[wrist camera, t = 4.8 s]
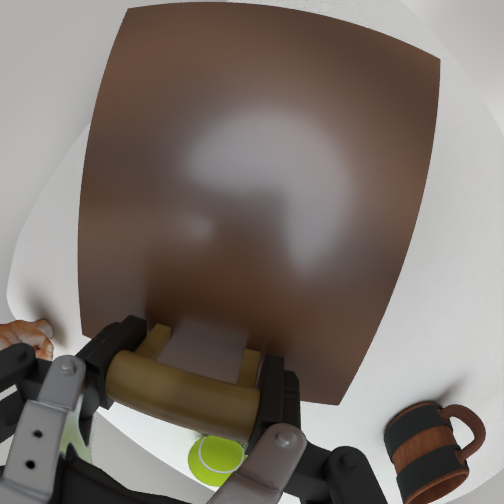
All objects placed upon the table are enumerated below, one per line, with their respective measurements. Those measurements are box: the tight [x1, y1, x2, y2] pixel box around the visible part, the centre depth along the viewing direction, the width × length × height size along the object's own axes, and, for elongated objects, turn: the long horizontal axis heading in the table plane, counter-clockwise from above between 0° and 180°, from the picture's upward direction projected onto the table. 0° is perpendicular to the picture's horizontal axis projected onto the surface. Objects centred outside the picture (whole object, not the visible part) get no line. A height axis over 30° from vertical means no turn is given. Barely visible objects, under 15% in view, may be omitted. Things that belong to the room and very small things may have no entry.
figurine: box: [0, 319, 54, 361], centre depth 21 cm, size 6×8×15 cm
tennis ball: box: [188, 435, 247, 487], centre depth 26 cm, size 7×7×7 cm
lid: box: [78, 2, 440, 443], centre depth 8 cm, size 17×14×5 cm
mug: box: [384, 402, 486, 504], centre depth 20 cm, size 9×12×12 cm
